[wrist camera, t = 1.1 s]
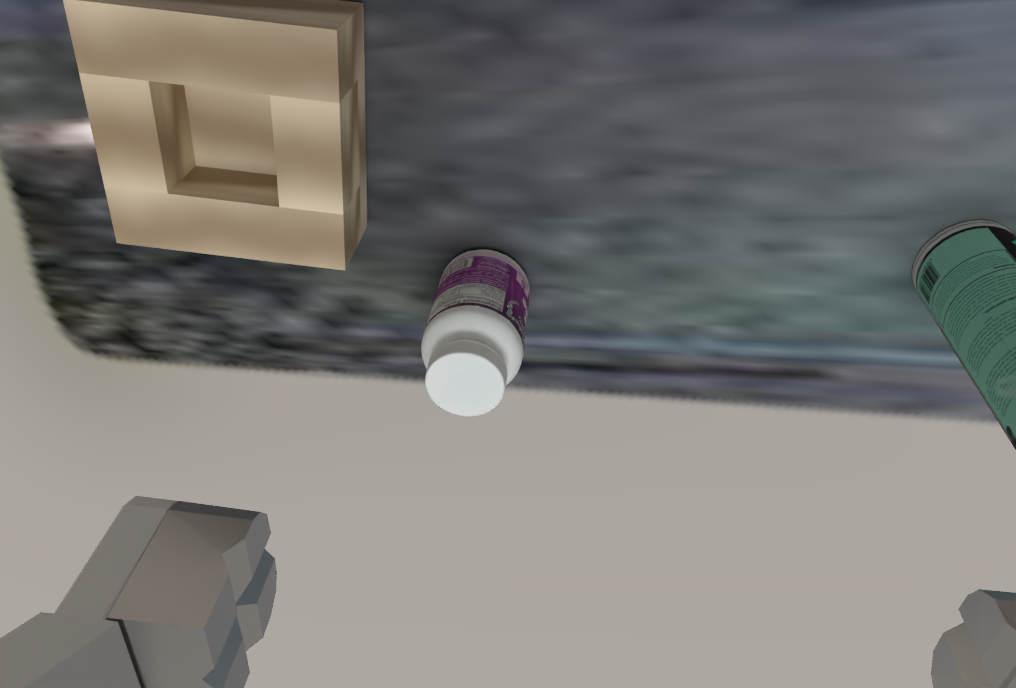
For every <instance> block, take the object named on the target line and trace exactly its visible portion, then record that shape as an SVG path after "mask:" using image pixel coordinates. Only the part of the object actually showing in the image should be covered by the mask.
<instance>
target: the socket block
mask: <svg viewBox="0 0 1016 688" xmlns="http://www.w3.org/2000/svg"><path fill="white" fill-rule="evenodd" d="M63 2H64V7H65V11H66V16H67V20H68V25H69V29H70V34H71V38H72V43H73V47H74V52H75V56H76V61H77V65H78V70H79V74H80V79H81V83H82V88H83V92H84V97H85V101H86V106H87V111H88V115H89V120H90V124H91V129H92V133H93V138H94V142H95V147H96V151H97V156H98V160H99V165H100V169H101V174H102V178H103V183H104V187H105V192H106V196H107V201H108V205H109V210H110V214H111V219H112V223H113V228H114V232H115V237H116V241H117V243H121V244H130V245H138V246H146V247H154V248H163V249H171V250H179V251H188V252H196V253H204V254H213V255H221V256H229V257H237V258H246V259H254V260H262V261H271V262H279V263H287V264H296V265H304V266H312V267H321V268H329V269H337V270H346V268H347V266H348V264H349V262H350V260H351V258H352V256H353V254H354V252H355V250H356V248H357V246H358V244H359V242H360V240H361V238H362V236H363V234H364V232H365V230H366V228H367V182H366V118H365V55H364V3H358V2H349V1H341V0H63Z"/></svg>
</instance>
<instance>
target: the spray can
mask: <svg viewBox="0 0 1016 688" xmlns="http://www.w3.org/2000/svg"><path fill="white" fill-rule="evenodd" d="M912 281H913V284H914V287H915V289H916V291H917V293H918V295H919V296H920V298H921V299H922V301H923V303H924V304H925V306H926V307H927V309H928V311H929V312H930V314H931V315H932V317H933V318H934V320H935V322H936V323H937V325H938V326H939V328H940V330H941V331H942V333H943V334H944V336H945V338H946V339H947V341H948V342H949V344H950V346H951V347H952V349H953V350H954V352H955V354H956V355H957V357H958V358H959V360H960V362H961V363H962V365H963V366H964V368H965V370H966V371H967V373H968V374H969V376H970V378H971V379H972V381H973V382H974V384H975V385H976V387H977V389H978V390H979V392H980V393H981V395H982V397H983V398H984V400H985V401H986V403H987V405H988V406H989V408H990V409H991V411H992V413H993V414H994V416H995V417H996V419H997V421H998V422H999V424H1000V425H1001V427H1002V429H1003V430H1004V432H1005V433H1006V435H1007V436H1008V438H1009V439H1010V441H1011V443H1012V444H1013V446H1014V447H1015V449H1016V235H1015V234H1014V233H1012V232H1011V231H1010V230H1009V229H1008V228H1006V227H1005V226H1003V225H1001V224H999V223H996V222H992V221H985V220H974V221H967V222H962V223H958V224H956V225H953V226H951V227H948V228H946V229H945V230H943V231H941V232H939V233H938V234H936V235H935V236H934V237H933V238H931V239H930V240H929V241H928V242H927V243H926V244H925V245H924V246H923V247H922V249H921V250H920V252H919V253H918V255H917V257H916V259H915V262H914V264H913V270H912Z"/></svg>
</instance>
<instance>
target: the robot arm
mask: <svg viewBox="0 0 1016 688" xmlns="http://www.w3.org/2000/svg"><path fill="white" fill-rule="evenodd" d="M270 534H271V532H270V527H269V522H268V517H267V514H265V513H261V512H255V511H249V510H241V509H234V508H226V507H219V506H212V505H204V504H197V503H189V502H182V501H172V500H164V499H156V498H148V497H140V496H136V497H134V498H133V499H132V500H130V501H129V502H128V503H127V504H125V505H124V506H123V507H122V509H121V510H120V512H119V513H118V515H117V517H116V518H115V520H114V521H113V523H112V524H111V526H110V527H109V529H108V531H107V532H106V534H105V535H104V537H103V538H102V540H101V541H100V543H99V545H98V546H97V548H96V549H95V551H94V552H93V554H92V555H91V557H90V559H89V560H88V562H87V563H86V565H85V566H84V568H83V569H82V571H81V573H80V574H79V576H78V577H77V579H76V580H75V582H74V584H73V585H72V587H71V588H70V590H69V591H68V593H67V594H66V596H65V598H64V599H63V601H62V602H61V604H60V605H59V607H58V608H57V610H56V612H55V613H54V614H52V613H39V614H38V615H36V616H35V617H33V618H31V619H30V620H28V621H27V622H25V623H24V624H22V625H21V626H19V627H17V628H16V629H14V630H13V631H11V632H10V633H8V634H6V635H5V636H3V637H2V638H0V688H244V686H245V683H246V681H247V678H248V675H249V673H250V671H249V666H248V661H247V656H246V651H247V650H248V649H249V648H250V647H252V646H253V645H254V644H255V643H257V642H258V641H259V640H260V639H261V638H263V636H264V633H265V630H266V627H267V625H268V622H269V619H270V616H271V612H272V607H273V602H274V598H275V593H276V575H277V572H276V564H275V558H274V557H273V556H272V555H270V554H269V553H268V552H267V551H266V550H265V546H266V544H267V541H268V539H269V536H270ZM959 611H960V613H961V616H962V618H963V620H964V623H962V624H960V625H958V626H956V627H954V628H952V629H950V630H948V631H946V632H944V633H943V635H942V636H941V638H940V640H939V642H938V644H937V645H936V647H935V649H934V651H933V660H932V671H931V675H932V682H933V687H934V688H1016V593H1010V592H1000V591H990V590H980V589H979V590H977V591H975V592H973V593H971V594H969V595H968V596H967V597H966V599H965V600H964V602H963V603H962V605H961V606H960V608H959Z"/></svg>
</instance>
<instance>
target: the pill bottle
mask: <svg viewBox="0 0 1016 688" xmlns="http://www.w3.org/2000/svg"><path fill="white" fill-rule="evenodd" d="M529 294H530V290H529V283H528V279H527V277H526V274H525V273H524V271H523V270H522V269H521V267H520V266H519V265H518V264H517V263H516V262H515V261H514V260H513V259H511V258H510V257H508V256H506V255H504V254H502V253H499V252H496V251H493V250H486V249H481V250H474V251H467V252H465V253H463V254H461V255H459V256H457V257H456V258H454V259H453V260H452V261H451V262H450V263H449V264H448V266H447V267H446V268H445V270H444V272H443V274H442V276H441V280H440V282H439V285H438V289H437V292H436V296H435V299H434V302H433V305H432V308H431V312H430V315H429V318H428V321H427V324H426V328H425V331H424V335H423V339H422V346H421V351H422V358H423V361H424V364H425V366H426V368H427V372H426V377H425V384H426V389H427V392H428V394H429V396H430V397H431V398H432V400H433V401H434V402H435V403H436V404H437V405H438V406H439V407H441V408H442V409H444V410H446V411H448V412H450V413H453V414H456V415H461V416H477V415H481V414H484V413H486V412H488V411H490V410H492V409H493V408H495V407H496V406H497V405H498V404H499V402H500V401H501V399H502V397H503V395H504V391H505V387H506V385H507V384H508V383H509V382H510V381H511V380H512V379H513V378H514V377H515V375H516V374H517V372H518V370H519V368H520V366H521V362H522V358H523V351H524V340H525V332H526V324H527V314H528V306H529Z"/></svg>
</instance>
